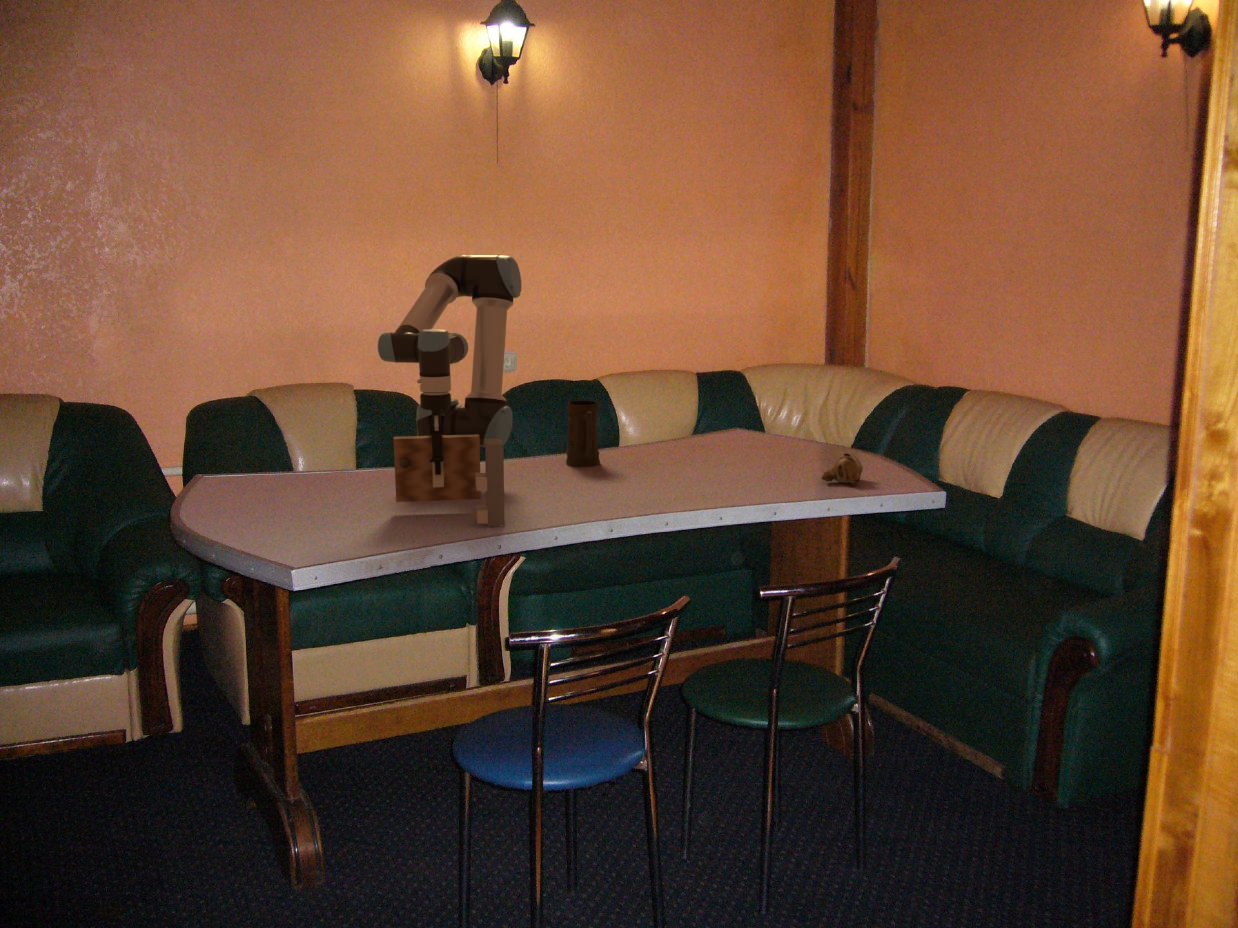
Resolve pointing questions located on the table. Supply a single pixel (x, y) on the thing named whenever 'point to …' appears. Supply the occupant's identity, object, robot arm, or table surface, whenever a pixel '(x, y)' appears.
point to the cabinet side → (492, 485)
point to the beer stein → (582, 434)
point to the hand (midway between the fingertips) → (438, 484)
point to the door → (418, 473)
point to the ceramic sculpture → (845, 470)
